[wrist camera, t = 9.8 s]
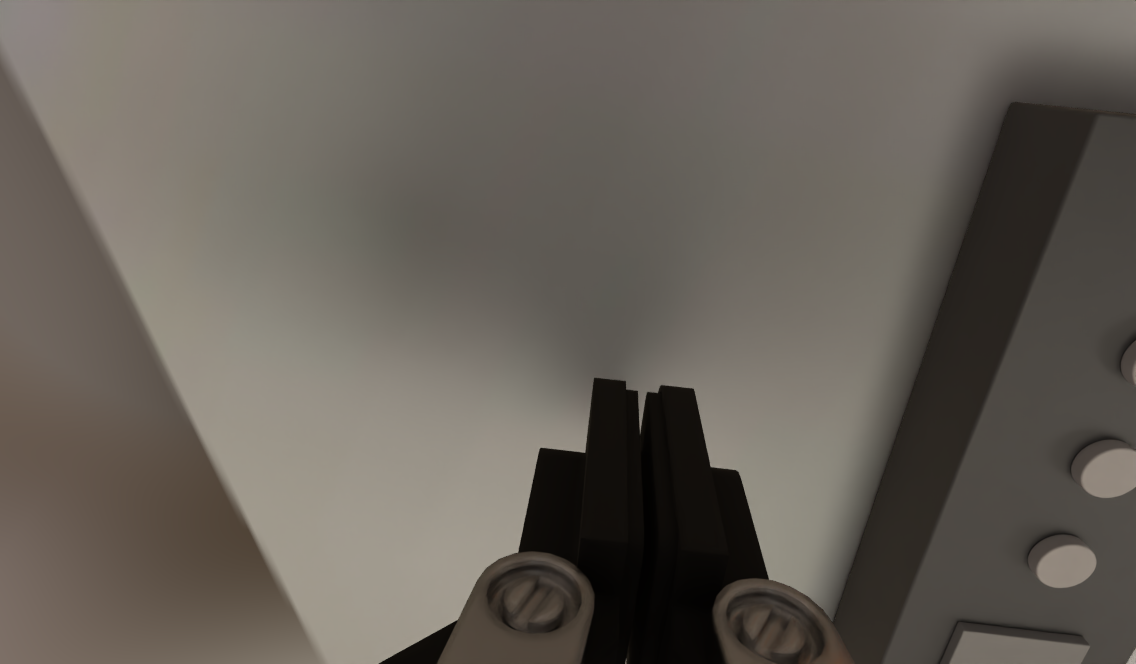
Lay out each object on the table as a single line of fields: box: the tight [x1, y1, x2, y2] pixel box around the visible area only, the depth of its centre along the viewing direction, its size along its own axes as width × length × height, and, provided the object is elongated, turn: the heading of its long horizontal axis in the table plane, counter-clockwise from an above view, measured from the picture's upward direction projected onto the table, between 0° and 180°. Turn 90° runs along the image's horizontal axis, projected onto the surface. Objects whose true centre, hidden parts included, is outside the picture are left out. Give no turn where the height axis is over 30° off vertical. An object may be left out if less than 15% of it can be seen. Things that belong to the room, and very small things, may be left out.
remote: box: [833, 102, 1136, 664], centre depth 12 cm, size 13×5×2 cm, turn 175°
